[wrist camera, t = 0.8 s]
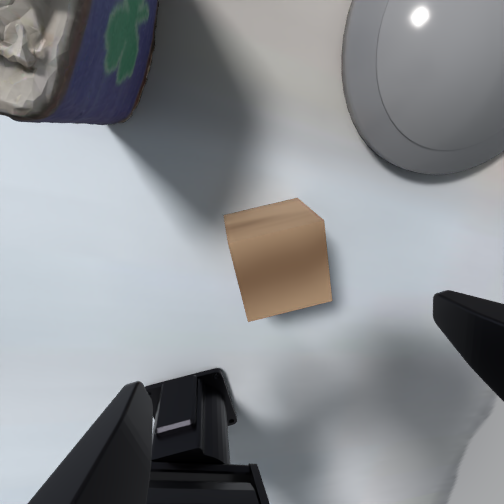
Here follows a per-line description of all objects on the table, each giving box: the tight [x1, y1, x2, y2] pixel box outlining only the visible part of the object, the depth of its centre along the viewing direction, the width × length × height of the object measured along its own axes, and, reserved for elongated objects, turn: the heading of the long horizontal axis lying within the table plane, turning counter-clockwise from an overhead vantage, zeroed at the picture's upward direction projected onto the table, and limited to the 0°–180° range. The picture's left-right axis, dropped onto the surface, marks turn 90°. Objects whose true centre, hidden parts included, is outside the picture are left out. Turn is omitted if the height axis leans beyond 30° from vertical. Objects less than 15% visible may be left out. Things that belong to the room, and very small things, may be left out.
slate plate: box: [342, 0, 504, 175], centre depth 17 cm, size 14×14×1 cm
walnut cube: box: [223, 198, 332, 322], centre depth 18 cm, size 5×5×5 cm
